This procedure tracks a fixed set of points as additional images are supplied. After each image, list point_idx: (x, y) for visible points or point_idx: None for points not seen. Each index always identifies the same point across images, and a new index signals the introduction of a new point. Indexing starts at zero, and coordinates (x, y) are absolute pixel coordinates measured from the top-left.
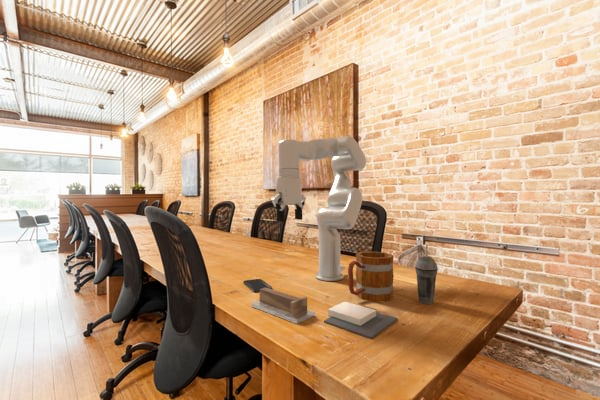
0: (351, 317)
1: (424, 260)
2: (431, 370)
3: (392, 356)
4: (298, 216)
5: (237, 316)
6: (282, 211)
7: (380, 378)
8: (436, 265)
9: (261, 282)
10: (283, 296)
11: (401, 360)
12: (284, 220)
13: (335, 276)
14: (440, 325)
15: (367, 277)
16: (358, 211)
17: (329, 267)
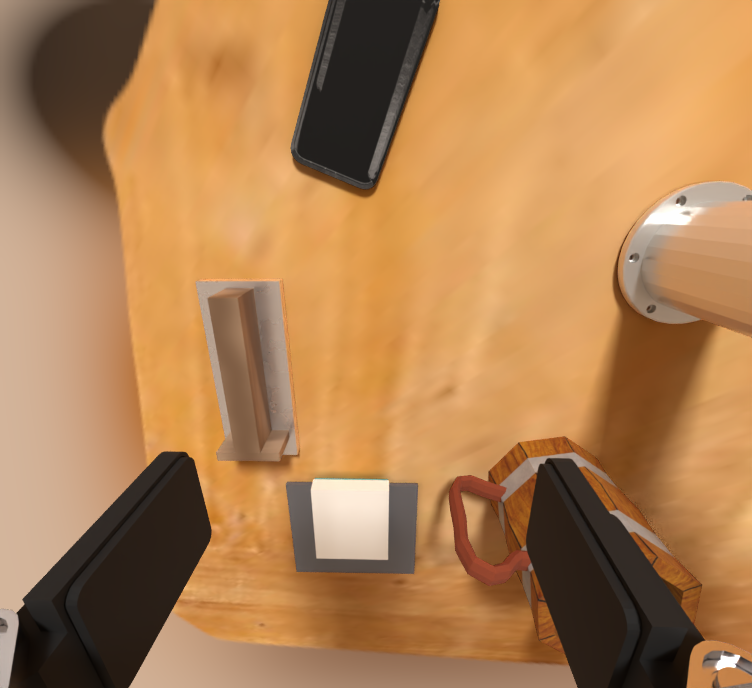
0: (315, 540)
1: None
2: (280, 640)
3: (272, 604)
4: (543, 549)
5: (130, 309)
6: (88, 682)
7: (211, 610)
8: None
9: (401, 60)
10: (229, 410)
11: (272, 614)
12: (204, 548)
13: (666, 306)
14: (440, 621)
15: (511, 543)
16: None
17: (681, 299)
